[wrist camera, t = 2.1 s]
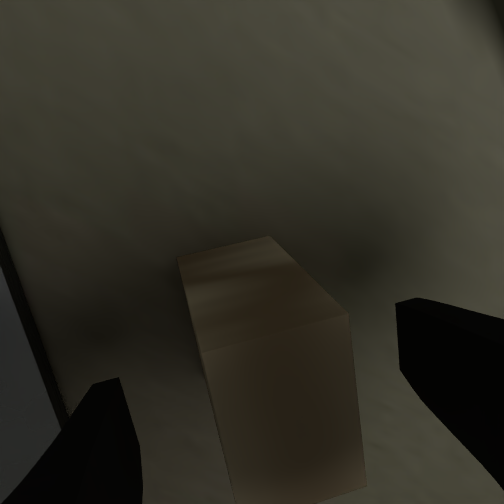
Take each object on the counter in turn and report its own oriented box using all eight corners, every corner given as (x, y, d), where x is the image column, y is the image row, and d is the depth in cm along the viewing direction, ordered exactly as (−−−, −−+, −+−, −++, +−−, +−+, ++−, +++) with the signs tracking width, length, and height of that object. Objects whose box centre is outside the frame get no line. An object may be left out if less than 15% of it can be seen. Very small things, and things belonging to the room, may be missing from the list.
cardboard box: (205, 379, 16) (241, 528, 10) (176, 257, 14) (201, 353, 9) (288, 356, 16) (367, 485, 11) (269, 235, 15) (348, 313, 9)
